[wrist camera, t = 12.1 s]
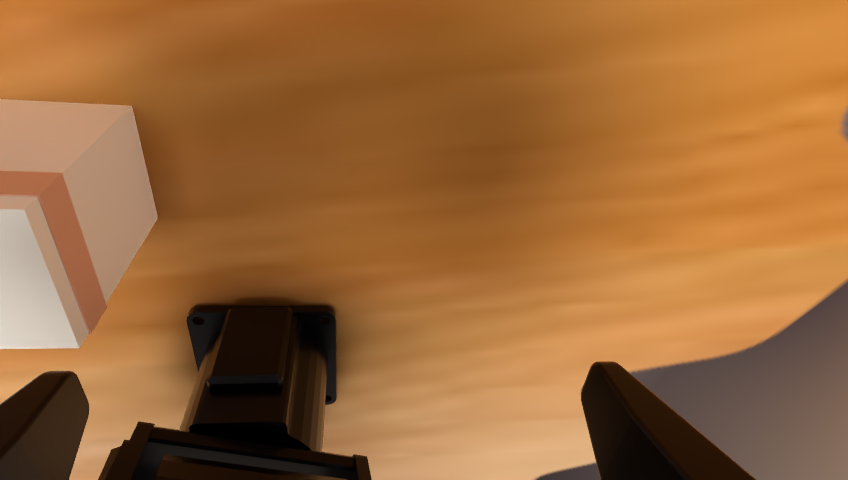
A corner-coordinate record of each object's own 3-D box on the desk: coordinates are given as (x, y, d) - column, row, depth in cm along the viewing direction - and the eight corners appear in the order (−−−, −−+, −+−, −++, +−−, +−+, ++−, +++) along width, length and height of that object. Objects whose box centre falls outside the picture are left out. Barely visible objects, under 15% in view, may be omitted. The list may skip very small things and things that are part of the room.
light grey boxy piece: (159, 219, 20) (81, 349, 15) (30, 216, 20) (-106, 351, 14) (133, 104, 18) (25, 208, 12) (-18, 96, 17) (-208, 202, 11)
